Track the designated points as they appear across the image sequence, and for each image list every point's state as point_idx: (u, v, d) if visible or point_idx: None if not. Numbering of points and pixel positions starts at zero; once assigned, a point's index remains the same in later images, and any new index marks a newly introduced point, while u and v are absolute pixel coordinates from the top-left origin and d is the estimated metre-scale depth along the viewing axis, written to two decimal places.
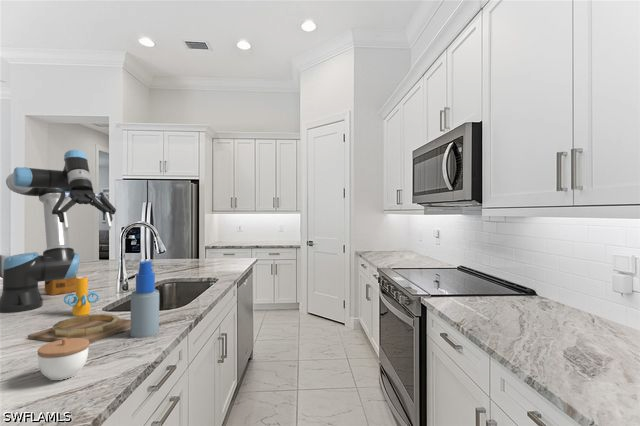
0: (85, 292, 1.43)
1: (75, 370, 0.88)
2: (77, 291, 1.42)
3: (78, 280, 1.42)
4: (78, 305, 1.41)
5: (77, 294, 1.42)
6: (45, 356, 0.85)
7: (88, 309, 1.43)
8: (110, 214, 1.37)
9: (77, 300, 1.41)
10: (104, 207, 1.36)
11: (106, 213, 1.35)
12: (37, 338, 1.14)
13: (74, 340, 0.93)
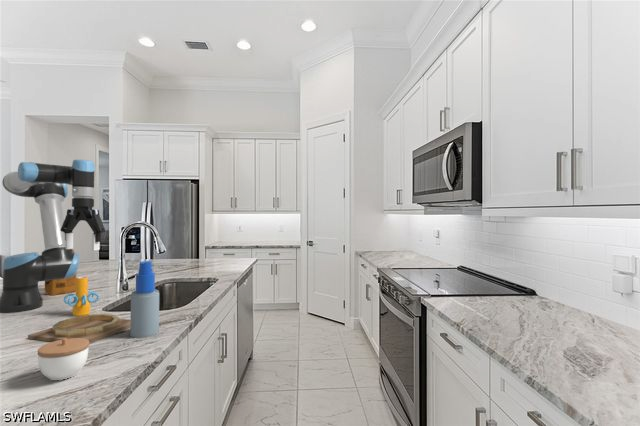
0: (85, 292, 1.43)
1: (75, 370, 0.88)
2: (77, 291, 1.42)
3: (78, 280, 1.42)
4: (78, 305, 1.41)
5: (77, 294, 1.42)
6: (45, 356, 0.85)
7: (88, 309, 1.43)
8: (96, 235, 1.41)
9: (77, 300, 1.41)
10: (92, 228, 1.41)
11: (92, 235, 1.41)
12: (37, 338, 1.14)
13: (74, 340, 0.93)
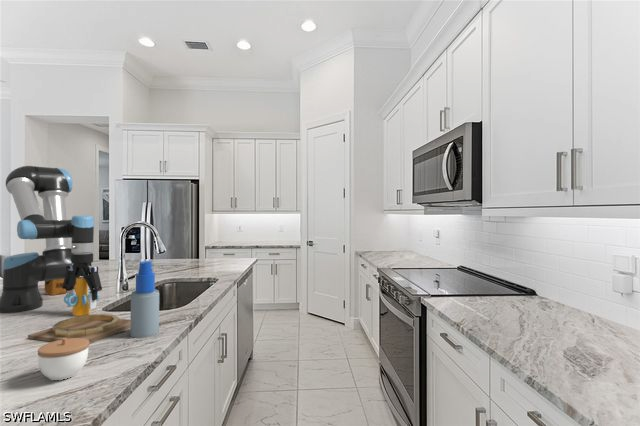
0: (85, 292, 1.43)
1: (75, 370, 0.88)
2: (77, 291, 1.42)
3: (78, 280, 1.42)
4: (79, 305, 1.41)
5: (77, 294, 1.42)
6: (45, 356, 0.85)
7: (88, 309, 1.43)
8: (93, 294, 1.41)
9: (77, 300, 1.41)
10: (89, 286, 1.41)
11: (89, 294, 1.41)
12: (37, 338, 1.14)
13: (74, 340, 0.93)
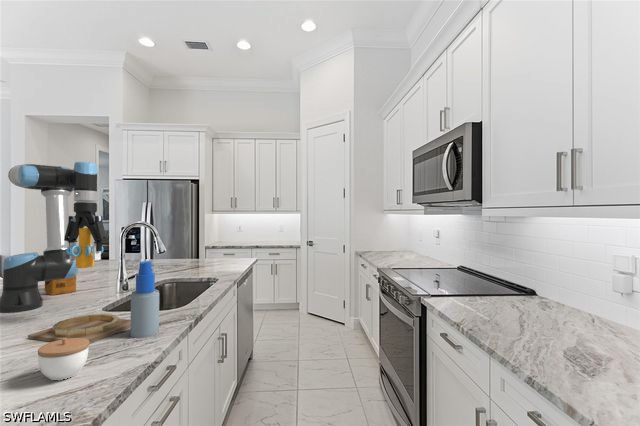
0: (89, 243, 1.35)
1: (75, 370, 0.88)
2: (80, 242, 1.33)
3: (81, 230, 1.33)
4: (82, 256, 1.32)
5: (80, 245, 1.33)
6: (45, 356, 0.85)
7: (92, 261, 1.35)
8: (97, 244, 1.33)
9: (80, 251, 1.33)
10: (93, 236, 1.33)
11: (93, 244, 1.33)
12: (37, 338, 1.14)
13: (74, 340, 0.93)
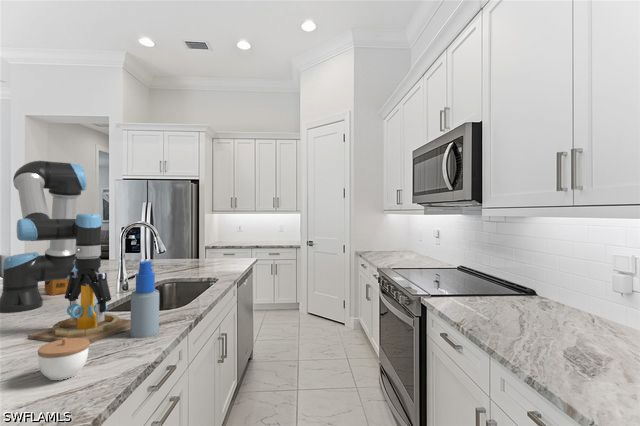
0: (91, 302, 1.23)
1: (75, 370, 0.88)
2: (82, 301, 1.22)
3: (84, 288, 1.22)
4: (84, 317, 1.21)
5: (82, 304, 1.22)
6: (45, 356, 0.85)
7: (95, 322, 1.23)
8: (101, 305, 1.21)
9: (82, 311, 1.21)
10: (96, 296, 1.21)
11: (96, 305, 1.21)
12: (37, 338, 1.14)
13: (74, 340, 0.93)
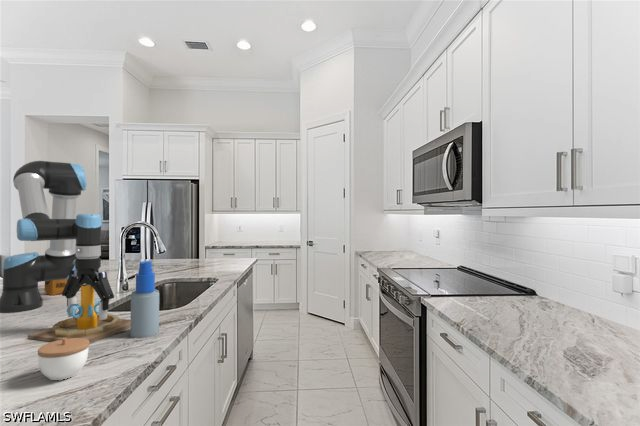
0: (91, 302, 1.23)
1: (75, 370, 0.88)
2: (82, 301, 1.22)
3: (84, 288, 1.22)
4: (84, 317, 1.21)
5: (82, 304, 1.22)
6: (45, 356, 0.85)
7: (95, 322, 1.23)
8: (104, 303, 1.21)
9: (82, 311, 1.21)
10: (99, 294, 1.21)
11: (99, 303, 1.21)
12: (37, 338, 1.14)
13: (74, 340, 0.93)
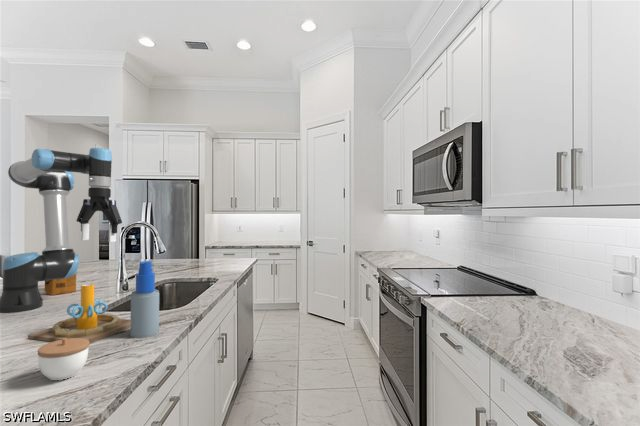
0: (91, 302, 1.23)
1: (75, 370, 0.88)
2: (82, 301, 1.22)
3: (84, 288, 1.22)
4: (84, 317, 1.21)
5: (82, 304, 1.22)
6: (45, 356, 0.85)
7: (95, 322, 1.23)
8: (113, 226, 1.36)
9: (82, 311, 1.21)
10: (109, 219, 1.36)
11: (109, 226, 1.36)
12: (37, 338, 1.14)
13: (74, 340, 0.93)
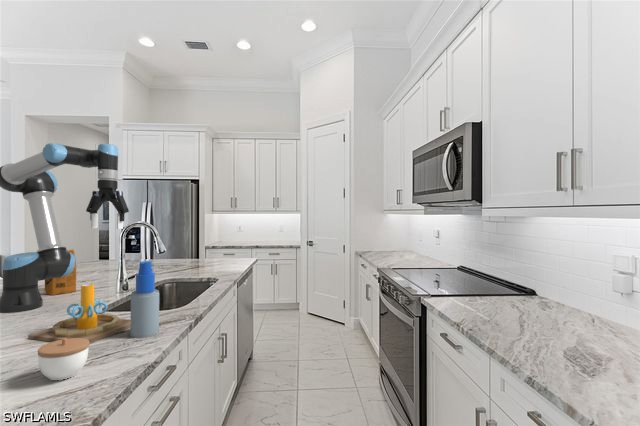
0: (91, 302, 1.23)
1: (75, 370, 0.88)
2: (82, 301, 1.22)
3: (84, 288, 1.22)
4: (84, 317, 1.21)
5: (82, 304, 1.22)
6: (45, 356, 0.85)
7: (95, 322, 1.23)
8: (121, 215, 1.50)
9: (82, 311, 1.21)
10: (116, 208, 1.50)
11: (117, 215, 1.50)
12: (37, 338, 1.14)
13: (74, 340, 0.93)
